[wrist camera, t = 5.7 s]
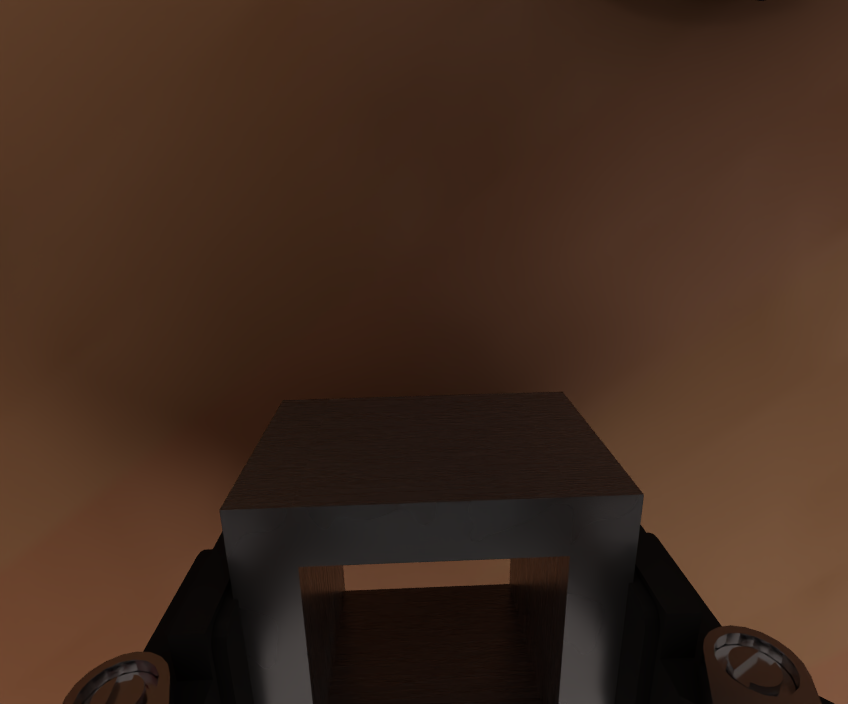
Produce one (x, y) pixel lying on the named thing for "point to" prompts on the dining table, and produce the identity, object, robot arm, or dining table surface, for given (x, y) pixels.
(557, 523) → the link
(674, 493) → the dining table surface
